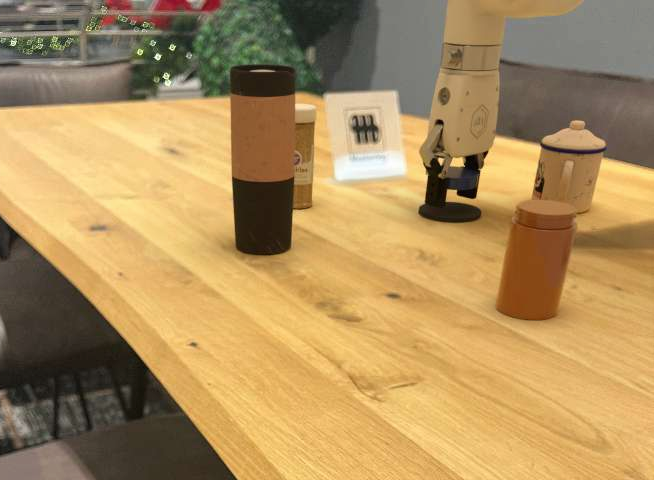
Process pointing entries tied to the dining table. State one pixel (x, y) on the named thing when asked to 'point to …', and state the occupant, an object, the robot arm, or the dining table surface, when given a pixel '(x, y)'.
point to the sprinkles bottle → (304, 154)
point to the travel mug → (263, 156)
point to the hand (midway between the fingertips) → (450, 200)
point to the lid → (461, 178)
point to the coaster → (451, 212)
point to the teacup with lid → (569, 167)
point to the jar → (536, 259)
